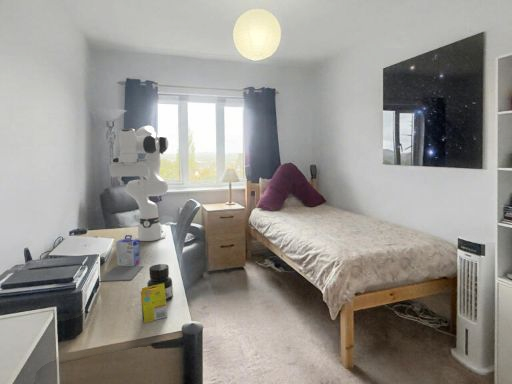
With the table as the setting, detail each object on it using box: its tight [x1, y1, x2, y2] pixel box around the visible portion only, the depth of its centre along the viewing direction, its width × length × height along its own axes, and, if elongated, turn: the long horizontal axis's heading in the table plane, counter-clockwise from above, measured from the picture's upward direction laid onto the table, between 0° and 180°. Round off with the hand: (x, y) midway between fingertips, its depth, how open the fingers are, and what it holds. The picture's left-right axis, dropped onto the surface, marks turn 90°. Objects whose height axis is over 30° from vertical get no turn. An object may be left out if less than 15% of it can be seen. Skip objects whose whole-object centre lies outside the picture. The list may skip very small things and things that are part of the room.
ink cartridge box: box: [115, 234, 141, 267], centre depth 155 cm, size 10×6×14 cm, turn 78°
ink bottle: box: [146, 263, 174, 302], centre depth 116 cm, size 10×9×12 cm
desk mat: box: [100, 265, 144, 283], centre depth 143 cm, size 17×14×1 cm
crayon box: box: [140, 283, 168, 324], centre depth 102 cm, size 7×3×12 cm, turn 119°
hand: (131, 184), depth 169 cm, fingers open, 8 cm apart
